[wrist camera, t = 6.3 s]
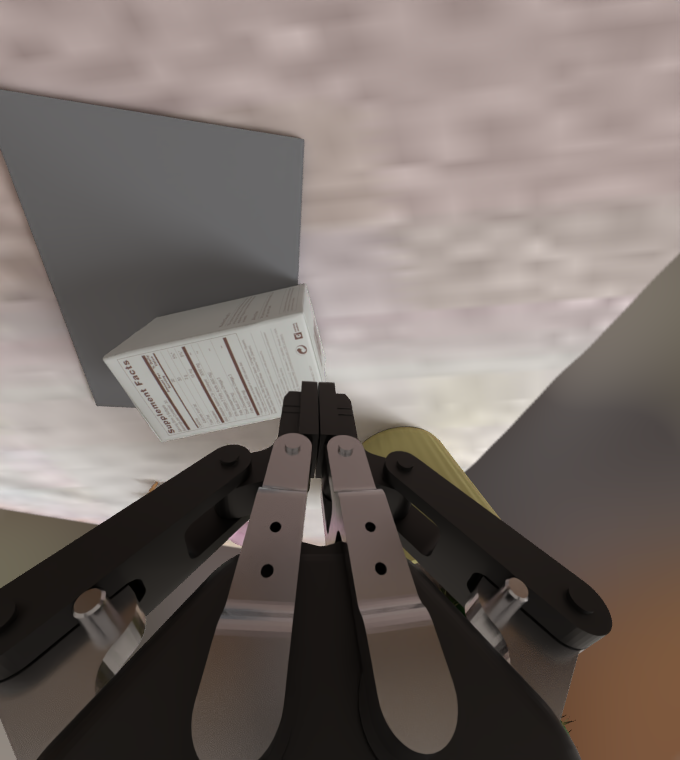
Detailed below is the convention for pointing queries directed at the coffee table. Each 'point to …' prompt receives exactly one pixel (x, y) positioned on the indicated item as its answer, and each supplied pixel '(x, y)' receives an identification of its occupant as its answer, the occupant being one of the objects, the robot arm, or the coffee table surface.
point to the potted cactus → (435, 458)
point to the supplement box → (220, 363)
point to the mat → (148, 216)
